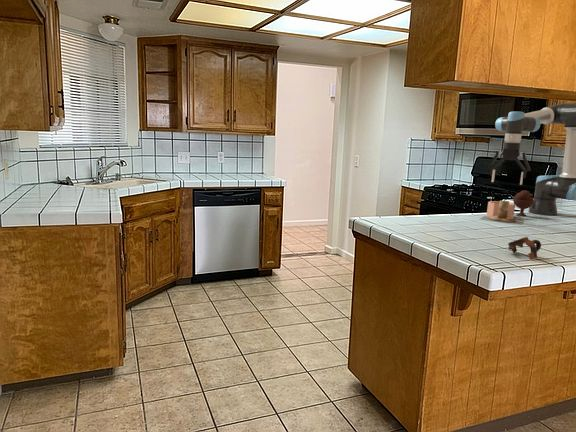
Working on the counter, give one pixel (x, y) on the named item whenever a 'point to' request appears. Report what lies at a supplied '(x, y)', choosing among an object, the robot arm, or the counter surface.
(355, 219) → the counter surface
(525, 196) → the ice cream bowl
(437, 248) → the counter surface
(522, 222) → the mat
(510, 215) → the pink squat block
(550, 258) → the counter surface
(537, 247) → the brown curved piece
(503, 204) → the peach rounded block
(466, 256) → the counter surface
